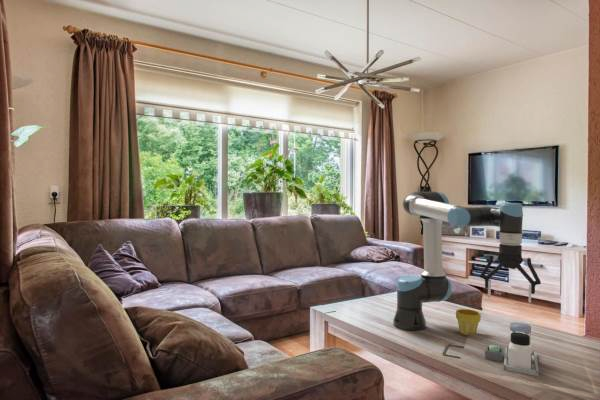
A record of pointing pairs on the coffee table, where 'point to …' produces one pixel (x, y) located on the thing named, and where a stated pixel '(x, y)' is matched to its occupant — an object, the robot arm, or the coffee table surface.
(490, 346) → the button
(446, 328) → the coffee table surface
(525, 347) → the medicine bottle
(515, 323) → the cream and blue canister
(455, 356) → the frame
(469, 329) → the plant pot
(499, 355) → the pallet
